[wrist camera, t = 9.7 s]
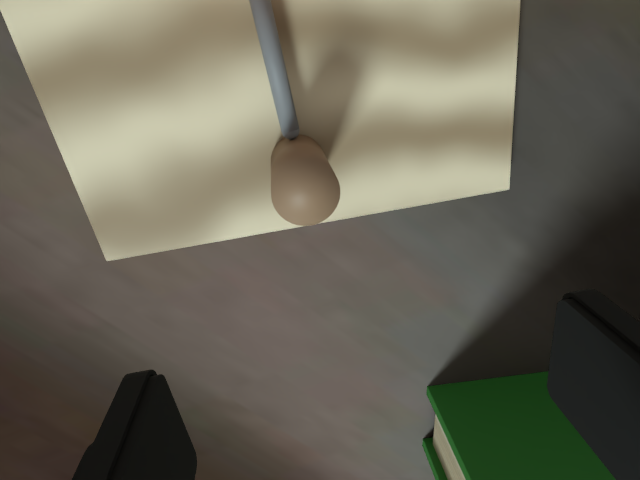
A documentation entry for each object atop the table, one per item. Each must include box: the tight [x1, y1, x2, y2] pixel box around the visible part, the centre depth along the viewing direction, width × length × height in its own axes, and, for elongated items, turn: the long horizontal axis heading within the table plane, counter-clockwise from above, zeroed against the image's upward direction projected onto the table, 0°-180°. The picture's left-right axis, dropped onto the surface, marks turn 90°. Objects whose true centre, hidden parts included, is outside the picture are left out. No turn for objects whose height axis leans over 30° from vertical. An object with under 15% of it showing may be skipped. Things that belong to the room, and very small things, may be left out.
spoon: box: [249, 0, 340, 226], centre depth 18 cm, size 18×6×6 cm, turn 12°
